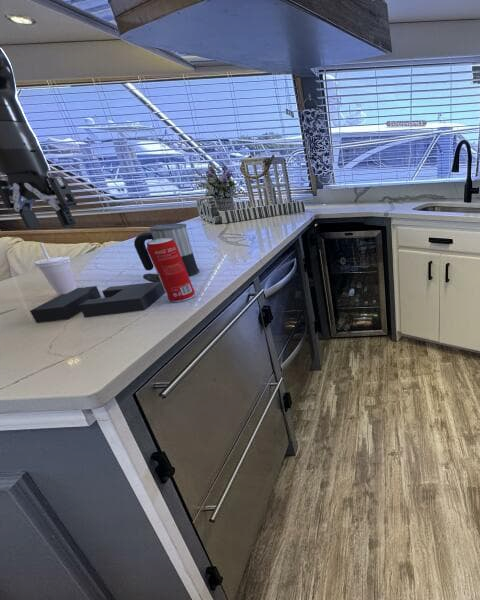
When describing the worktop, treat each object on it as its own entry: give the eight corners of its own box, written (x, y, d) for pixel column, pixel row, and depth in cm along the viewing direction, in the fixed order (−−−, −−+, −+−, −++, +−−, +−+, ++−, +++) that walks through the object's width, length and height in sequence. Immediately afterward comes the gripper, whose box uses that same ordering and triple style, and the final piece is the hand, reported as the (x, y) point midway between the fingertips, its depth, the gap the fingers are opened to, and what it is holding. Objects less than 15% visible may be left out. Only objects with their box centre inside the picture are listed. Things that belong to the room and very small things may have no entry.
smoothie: (45, 298, 84) (18, 246, 78) (73, 289, 90) (50, 240, 84) (63, 299, 83) (37, 246, 77) (90, 290, 88) (67, 240, 83)
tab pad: (68, 319, 71) (62, 307, 70) (36, 323, 70) (29, 310, 69) (105, 296, 84) (100, 285, 83) (78, 299, 83) (73, 288, 82)
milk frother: (197, 267, 105) (183, 221, 99) (207, 278, 94) (192, 228, 88) (144, 277, 97) (125, 228, 91) (148, 291, 86) (127, 236, 80)
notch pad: (84, 317, 72) (78, 305, 71) (114, 297, 83) (109, 286, 82) (144, 310, 74) (140, 298, 73) (166, 291, 85) (162, 281, 84)
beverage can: (200, 293, 83) (182, 235, 77) (185, 303, 77) (165, 242, 71) (177, 294, 83) (157, 236, 77) (160, 304, 77) (138, 243, 71)
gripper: (-41, 148, 62) (3, 231, 69) (25, 145, 61) (63, 230, 68) (5, 149, 69) (41, 225, 76) (65, 147, 68) (96, 223, 75)
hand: (51, 227), depth 72 cm, fingers open, 8 cm apart
